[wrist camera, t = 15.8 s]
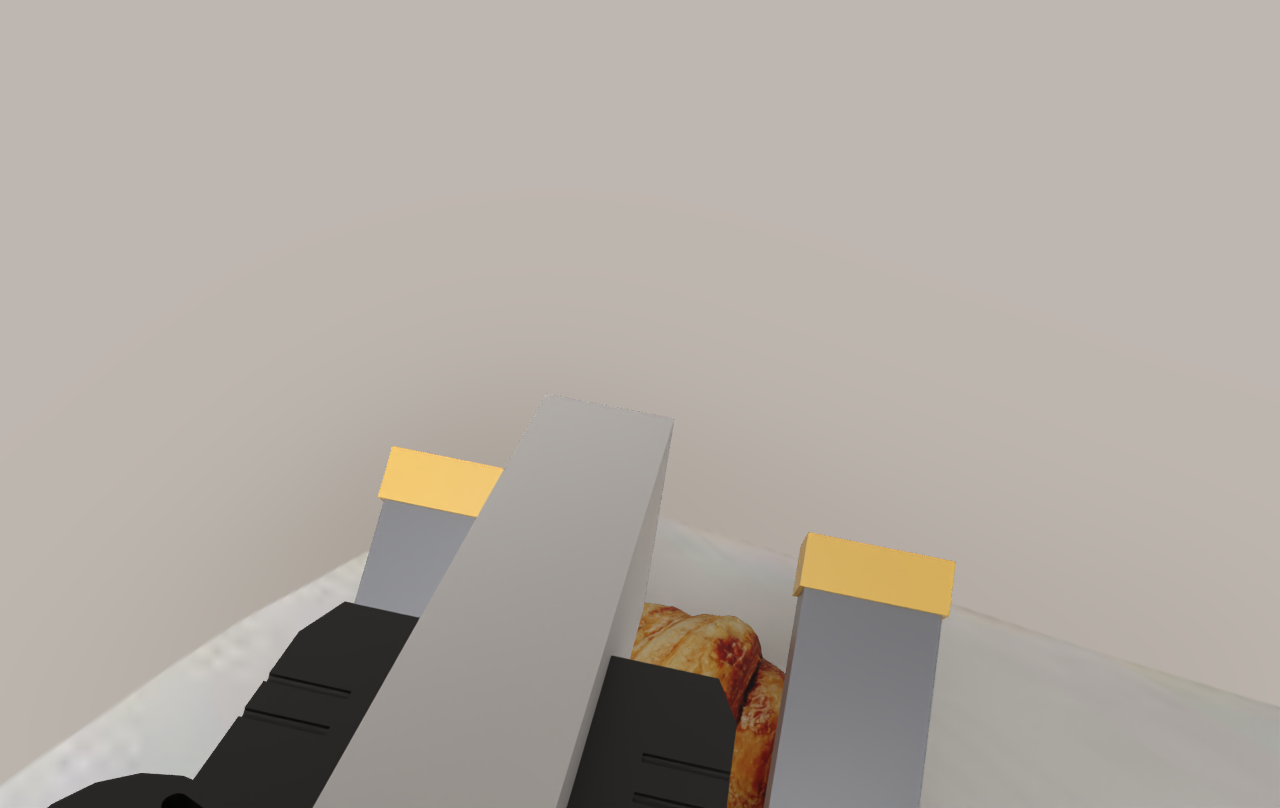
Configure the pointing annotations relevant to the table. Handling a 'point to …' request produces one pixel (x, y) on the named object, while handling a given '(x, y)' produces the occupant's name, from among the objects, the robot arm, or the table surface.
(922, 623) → the lever
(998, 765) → the table surface
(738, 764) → the croissant
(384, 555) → the lever
